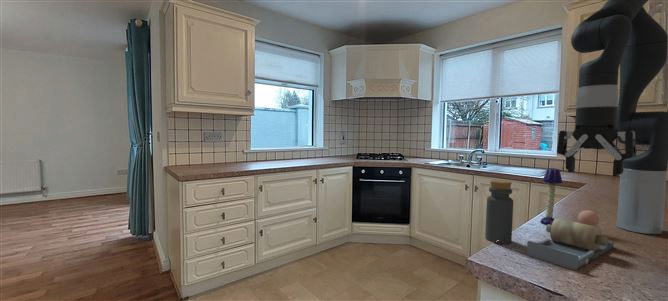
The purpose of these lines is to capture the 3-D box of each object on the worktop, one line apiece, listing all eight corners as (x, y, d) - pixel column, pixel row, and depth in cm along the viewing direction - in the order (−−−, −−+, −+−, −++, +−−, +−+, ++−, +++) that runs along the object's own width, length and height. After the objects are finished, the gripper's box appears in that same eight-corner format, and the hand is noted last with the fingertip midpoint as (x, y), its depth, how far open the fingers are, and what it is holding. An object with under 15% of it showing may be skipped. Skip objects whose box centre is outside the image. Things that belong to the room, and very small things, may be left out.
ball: (581, 223, 79) (582, 207, 78) (601, 227, 75) (602, 211, 75) (575, 225, 76) (576, 209, 76) (595, 230, 73) (596, 213, 73)
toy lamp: (562, 224, 91) (565, 168, 90) (555, 227, 88) (558, 169, 87) (544, 220, 95) (546, 167, 94) (537, 223, 92) (540, 168, 91)
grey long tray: (568, 236, 81) (569, 225, 81) (613, 247, 74) (614, 234, 73) (526, 255, 68) (527, 241, 68) (575, 270, 61) (576, 255, 61)
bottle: (488, 234, 82) (490, 178, 81) (513, 239, 78) (516, 181, 77) (482, 240, 77) (485, 181, 76) (508, 246, 73) (511, 184, 72)
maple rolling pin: (542, 241, 75) (543, 218, 74) (552, 237, 78) (553, 215, 78) (600, 257, 65) (602, 231, 65) (609, 251, 69) (611, 227, 68)
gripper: (642, 104, 69) (637, 176, 70) (566, 108, 81) (563, 169, 82) (632, 103, 65) (628, 179, 66) (554, 107, 76) (551, 172, 78)
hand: (592, 174), depth 74 cm, fingers open, 8 cm apart
